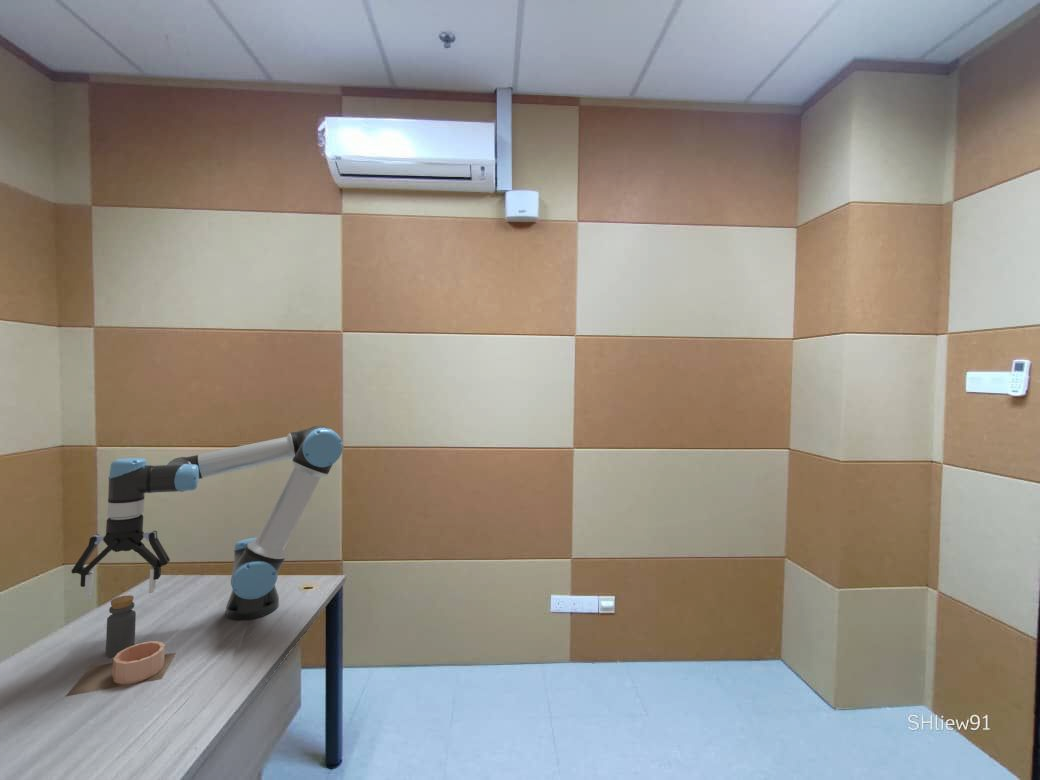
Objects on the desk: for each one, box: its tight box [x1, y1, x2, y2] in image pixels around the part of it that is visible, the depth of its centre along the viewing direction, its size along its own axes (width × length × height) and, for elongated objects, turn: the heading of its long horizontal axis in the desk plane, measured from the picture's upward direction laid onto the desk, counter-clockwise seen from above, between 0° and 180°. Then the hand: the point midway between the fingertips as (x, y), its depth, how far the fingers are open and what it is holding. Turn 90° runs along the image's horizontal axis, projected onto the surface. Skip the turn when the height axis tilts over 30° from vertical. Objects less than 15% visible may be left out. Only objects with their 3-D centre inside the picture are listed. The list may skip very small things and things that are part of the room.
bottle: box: [105, 594, 137, 658], centre depth 121 cm, size 6×6×15 cm
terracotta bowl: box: [112, 640, 166, 686], centre depth 113 cm, size 10×10×5 cm
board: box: [65, 652, 177, 697], centre depth 112 cm, size 18×12×1 cm, turn 113°
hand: (121, 594), depth 121 cm, fingers open, 13 cm apart
